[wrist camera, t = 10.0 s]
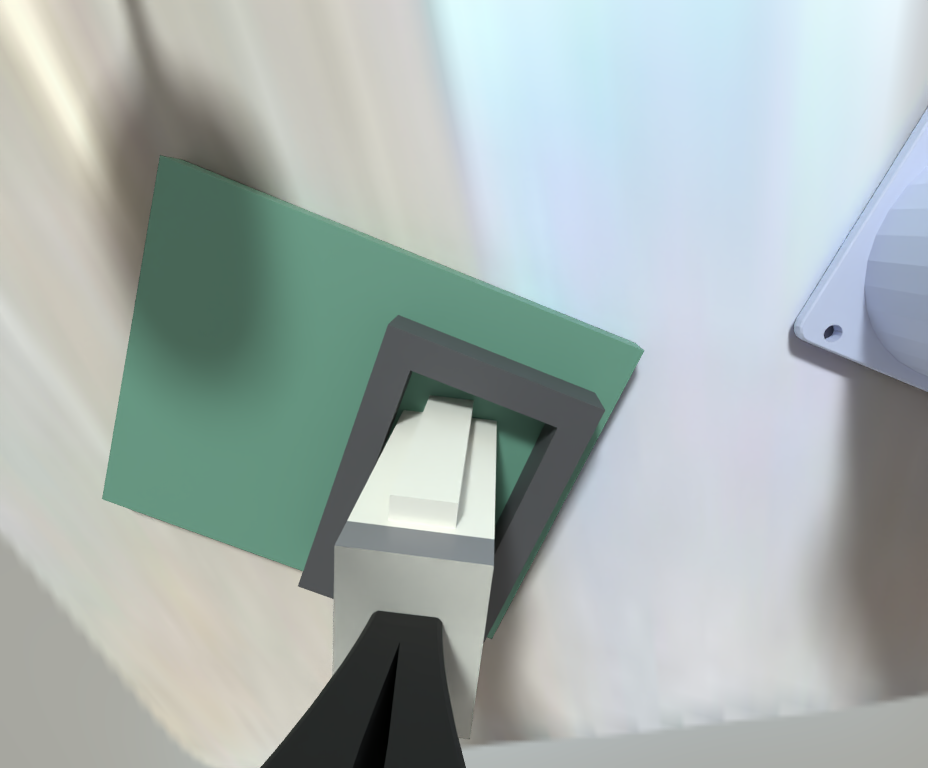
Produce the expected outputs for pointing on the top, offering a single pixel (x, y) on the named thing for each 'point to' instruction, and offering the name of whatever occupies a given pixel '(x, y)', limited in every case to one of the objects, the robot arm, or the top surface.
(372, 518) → the plug
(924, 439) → the top surface
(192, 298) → the circuit board
